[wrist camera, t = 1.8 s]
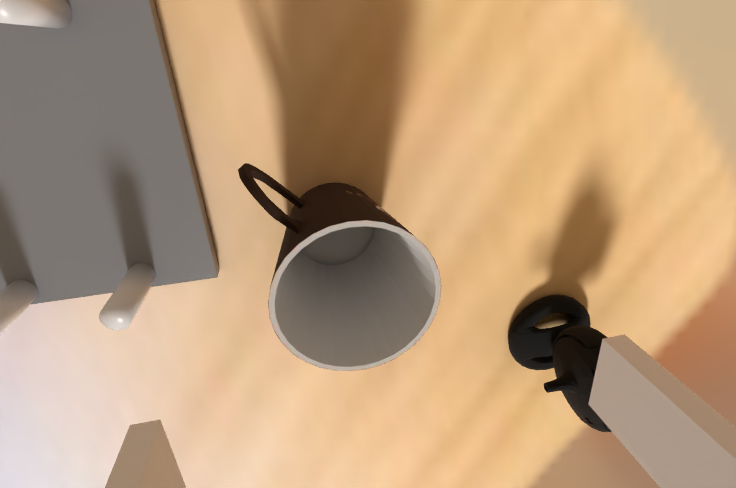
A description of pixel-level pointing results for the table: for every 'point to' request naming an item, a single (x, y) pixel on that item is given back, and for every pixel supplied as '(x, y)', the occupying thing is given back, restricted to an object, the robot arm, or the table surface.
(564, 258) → the table surface
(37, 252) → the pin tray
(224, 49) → the table surface
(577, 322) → the webcam
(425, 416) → the table surface
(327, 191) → the coffee mug
